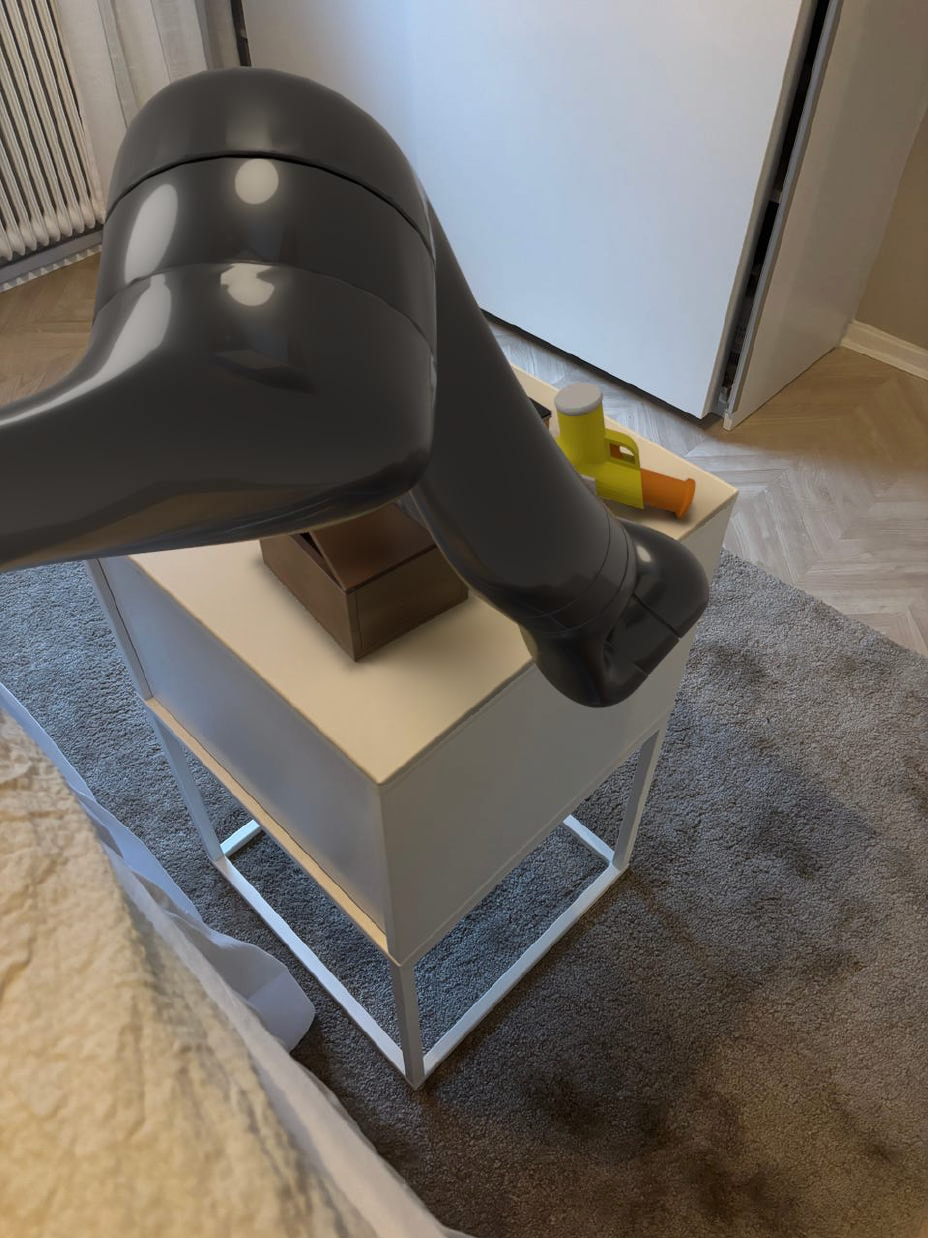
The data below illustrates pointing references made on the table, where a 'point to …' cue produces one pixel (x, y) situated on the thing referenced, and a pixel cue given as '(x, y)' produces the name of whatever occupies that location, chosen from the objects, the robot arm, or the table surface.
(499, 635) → the table surface
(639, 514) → the table surface
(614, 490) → the toy
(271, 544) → the box
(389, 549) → the lid
